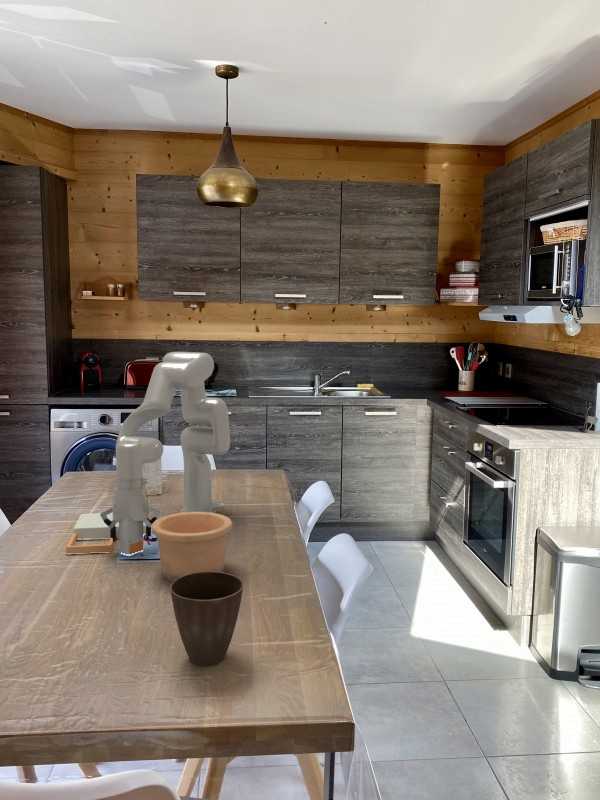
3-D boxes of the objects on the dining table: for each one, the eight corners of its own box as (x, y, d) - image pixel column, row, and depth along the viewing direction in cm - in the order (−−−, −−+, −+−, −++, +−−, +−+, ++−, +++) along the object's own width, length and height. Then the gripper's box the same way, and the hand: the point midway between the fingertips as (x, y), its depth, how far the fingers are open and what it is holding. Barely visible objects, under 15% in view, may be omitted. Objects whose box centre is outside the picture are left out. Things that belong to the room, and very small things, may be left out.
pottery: (155, 592, 177) (154, 538, 175) (150, 562, 198) (149, 514, 196) (238, 584, 183) (238, 532, 181) (225, 555, 204) (224, 508, 202)
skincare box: (128, 557, 202) (127, 518, 200) (119, 554, 204) (117, 515, 203) (144, 552, 206) (143, 513, 205) (135, 549, 209) (134, 511, 208)
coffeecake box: (136, 487, 281) (135, 441, 279) (154, 486, 284) (153, 439, 282) (144, 496, 268) (143, 447, 265) (162, 494, 271) (161, 446, 268)
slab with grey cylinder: (148, 522, 235) (147, 494, 234) (142, 551, 207) (141, 519, 206) (81, 525, 232) (80, 496, 231) (66, 555, 203) (65, 522, 202)
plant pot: (245, 640, 152) (244, 570, 150) (241, 675, 137) (241, 599, 135) (177, 641, 151) (175, 571, 149) (166, 676, 136) (164, 600, 134)
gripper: (160, 479, 208) (161, 534, 210) (101, 481, 205) (102, 536, 207) (159, 485, 200) (160, 542, 202) (97, 487, 198) (99, 544, 200)
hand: (131, 539), depth 205 cm, fingers open, 9 cm apart
